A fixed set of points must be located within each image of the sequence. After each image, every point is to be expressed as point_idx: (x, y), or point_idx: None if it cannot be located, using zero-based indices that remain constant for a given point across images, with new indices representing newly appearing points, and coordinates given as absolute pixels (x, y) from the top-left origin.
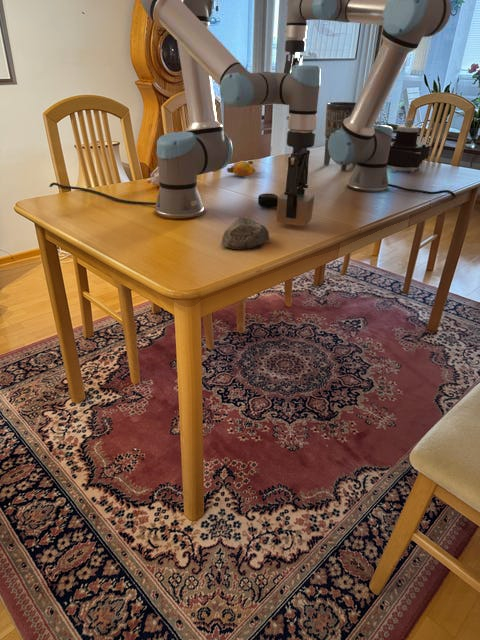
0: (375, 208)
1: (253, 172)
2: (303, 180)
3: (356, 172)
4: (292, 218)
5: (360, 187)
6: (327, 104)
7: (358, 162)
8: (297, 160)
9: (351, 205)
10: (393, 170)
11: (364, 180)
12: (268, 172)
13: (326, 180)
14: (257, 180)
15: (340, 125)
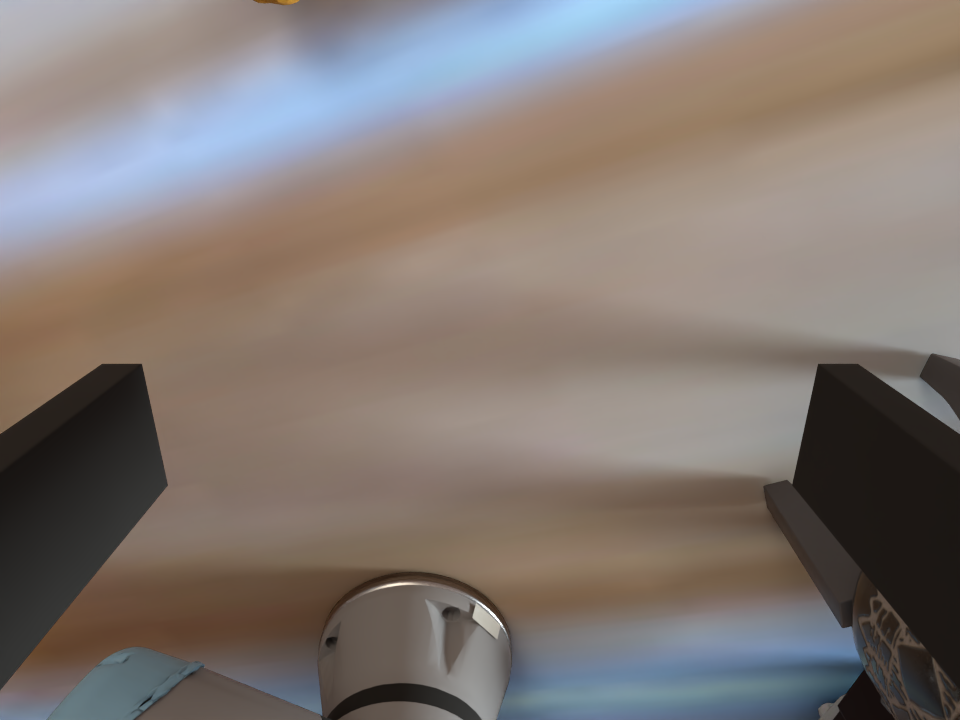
0: None
1: (257, 1)
2: None
3: (342, 667)
4: None
5: (319, 644)
6: None
7: (341, 714)
8: None
9: (72, 633)
10: (823, 710)
11: (319, 681)
12: (528, 45)
13: (475, 458)
14: (240, 61)
15: (931, 672)
